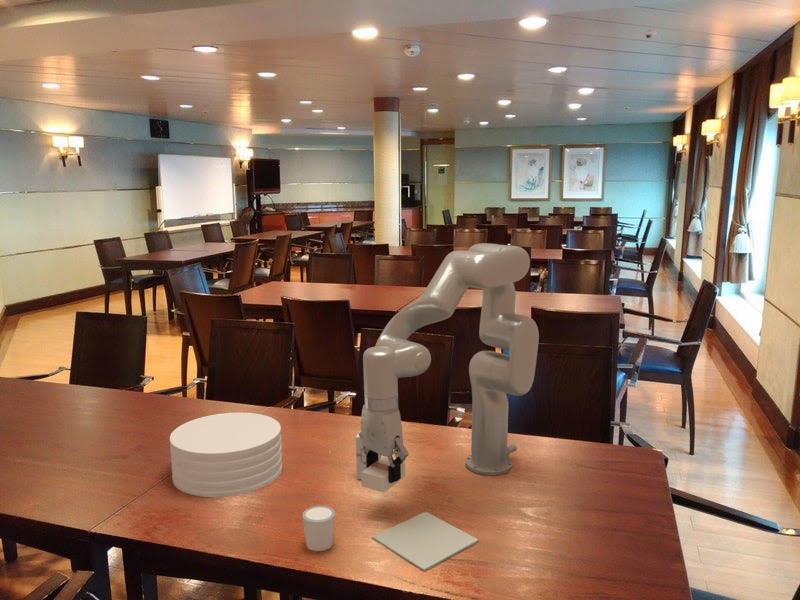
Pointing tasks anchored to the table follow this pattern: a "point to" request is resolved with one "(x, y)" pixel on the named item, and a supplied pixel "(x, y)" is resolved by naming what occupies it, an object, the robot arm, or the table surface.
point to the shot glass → (319, 527)
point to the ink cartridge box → (361, 457)
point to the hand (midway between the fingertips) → (383, 474)
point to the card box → (379, 475)
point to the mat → (425, 540)
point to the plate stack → (226, 454)
